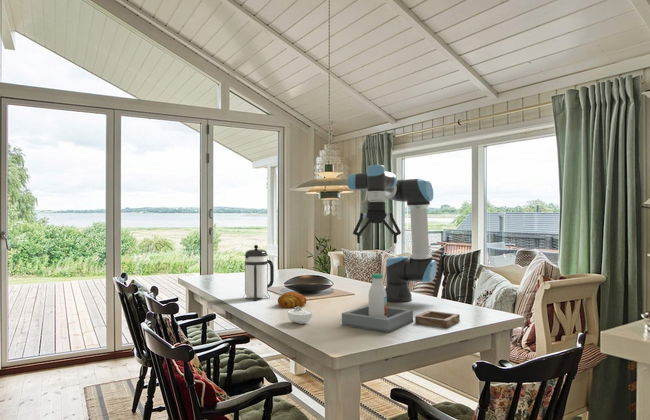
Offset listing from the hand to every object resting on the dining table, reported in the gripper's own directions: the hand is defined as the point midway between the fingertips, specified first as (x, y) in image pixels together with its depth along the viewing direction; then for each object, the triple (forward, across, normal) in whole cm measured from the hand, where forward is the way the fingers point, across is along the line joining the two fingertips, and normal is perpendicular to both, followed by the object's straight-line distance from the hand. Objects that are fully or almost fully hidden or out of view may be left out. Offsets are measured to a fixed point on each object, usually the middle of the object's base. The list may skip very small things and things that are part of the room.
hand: (377, 251), depth 191 cm
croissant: (+31, -47, +31) cm, 64 cm away
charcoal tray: (+31, 0, 0) cm, 31 cm away
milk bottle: (+30, 0, 0) cm, 30 cm away
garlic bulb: (+31, -33, -5) cm, 45 cm away
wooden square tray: (+31, +25, +6) cm, 40 cm away
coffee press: (+31, -72, +48) cm, 91 cm away
